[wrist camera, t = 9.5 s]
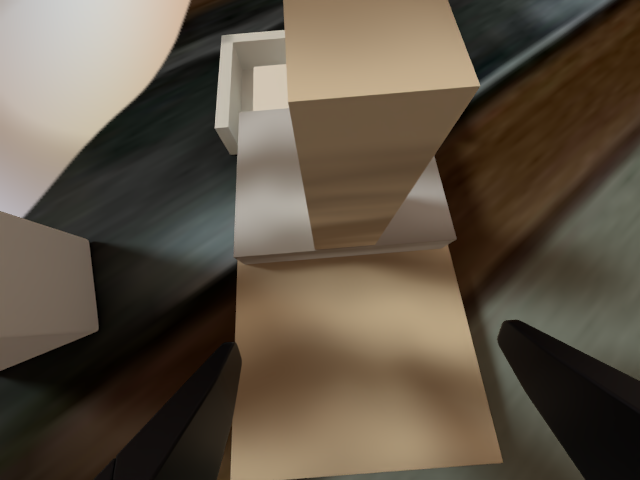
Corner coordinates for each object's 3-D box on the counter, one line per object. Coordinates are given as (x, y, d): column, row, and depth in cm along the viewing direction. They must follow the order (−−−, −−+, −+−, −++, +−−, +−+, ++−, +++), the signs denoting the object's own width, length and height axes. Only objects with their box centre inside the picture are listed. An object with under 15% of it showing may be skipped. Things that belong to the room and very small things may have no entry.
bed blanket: (441, 248, 16) (745, 65, 4) (245, 264, 16) (28, 125, 4) (409, 119, 19) (532, -177, 8) (247, 132, 19) (130, -142, 8)
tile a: (321, 134, 20) (320, 110, 18) (261, 139, 20) (252, 115, 18) (316, 89, 21) (315, 61, 19) (261, 94, 21) (253, 66, 19)
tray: (429, 138, 20) (446, 109, 17) (230, 154, 20) (214, 128, 17) (407, 55, 23) (418, 18, 20) (234, 69, 23) (221, 35, 21)
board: (484, 447, 14) (503, 462, 12) (240, 466, 14) (230, 483, 12) (412, 144, 20) (419, 131, 19) (247, 158, 20) (241, 145, 19)
